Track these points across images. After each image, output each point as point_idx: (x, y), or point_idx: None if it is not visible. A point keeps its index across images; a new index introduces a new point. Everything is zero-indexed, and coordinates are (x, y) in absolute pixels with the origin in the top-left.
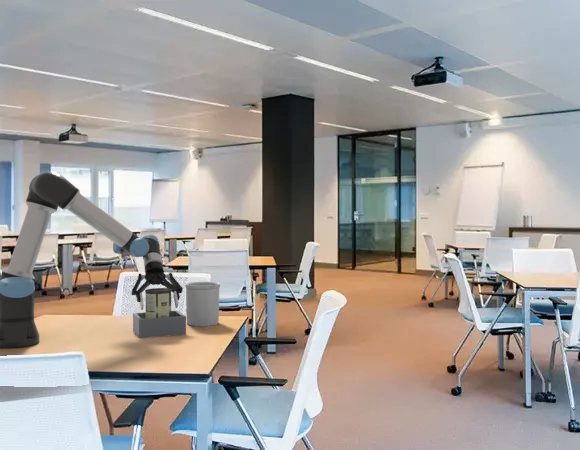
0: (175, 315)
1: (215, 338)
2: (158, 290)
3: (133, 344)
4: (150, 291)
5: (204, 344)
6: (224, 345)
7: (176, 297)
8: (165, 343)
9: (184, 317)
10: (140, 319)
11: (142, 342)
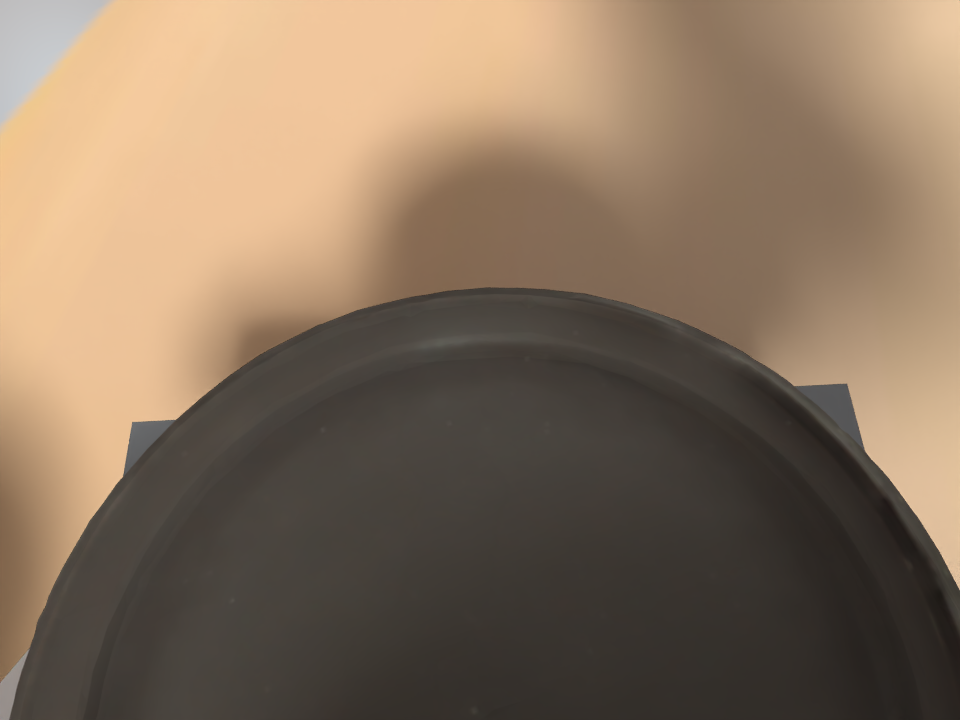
0: None
1: (34, 238)
2: (515, 537)
3: (813, 221)
4: (786, 382)
5: (220, 74)
6: (98, 16)
7: (13, 693)
8: (519, 181)
9: (160, 427)
10: (825, 389)
11: (729, 273)
